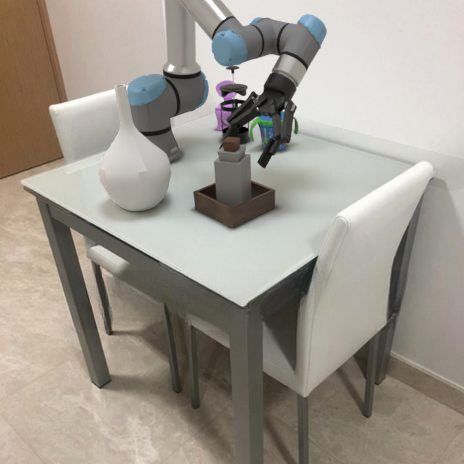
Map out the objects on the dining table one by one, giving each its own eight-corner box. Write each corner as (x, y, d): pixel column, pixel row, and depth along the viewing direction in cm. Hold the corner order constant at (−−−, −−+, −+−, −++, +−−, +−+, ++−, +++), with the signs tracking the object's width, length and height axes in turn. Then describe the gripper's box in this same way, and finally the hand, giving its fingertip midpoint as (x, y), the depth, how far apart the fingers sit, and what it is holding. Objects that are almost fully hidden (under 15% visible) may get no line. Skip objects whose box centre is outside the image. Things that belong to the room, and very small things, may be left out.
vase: (183, 190, 140) (170, 75, 122) (161, 221, 126) (142, 97, 108) (122, 186, 143) (100, 75, 125) (94, 217, 129) (65, 96, 111)
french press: (249, 145, 164) (247, 70, 150) (221, 146, 165) (216, 71, 151) (250, 133, 174) (248, 61, 160) (222, 134, 174) (218, 62, 160)
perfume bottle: (217, 212, 128) (212, 143, 117) (227, 201, 133) (223, 133, 122) (242, 216, 126) (239, 145, 115) (251, 204, 131) (249, 135, 120)
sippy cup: (253, 156, 157) (252, 123, 151) (247, 144, 165) (246, 113, 159) (302, 151, 158) (303, 118, 152) (293, 139, 167) (294, 108, 160)
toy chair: (213, 130, 178) (210, 85, 169) (220, 122, 185) (217, 78, 175) (235, 131, 176) (233, 86, 167) (242, 123, 183) (240, 79, 173)
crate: (195, 209, 130) (193, 191, 127) (236, 191, 138) (235, 173, 135) (232, 228, 121) (231, 209, 118) (275, 207, 129) (275, 189, 126)
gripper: (331, 98, 117) (286, 179, 118) (256, 81, 132) (217, 153, 134) (317, 78, 111) (270, 164, 113) (240, 63, 126) (199, 139, 128)
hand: (241, 158), depth 123 cm, fingers open, 13 cm apart
